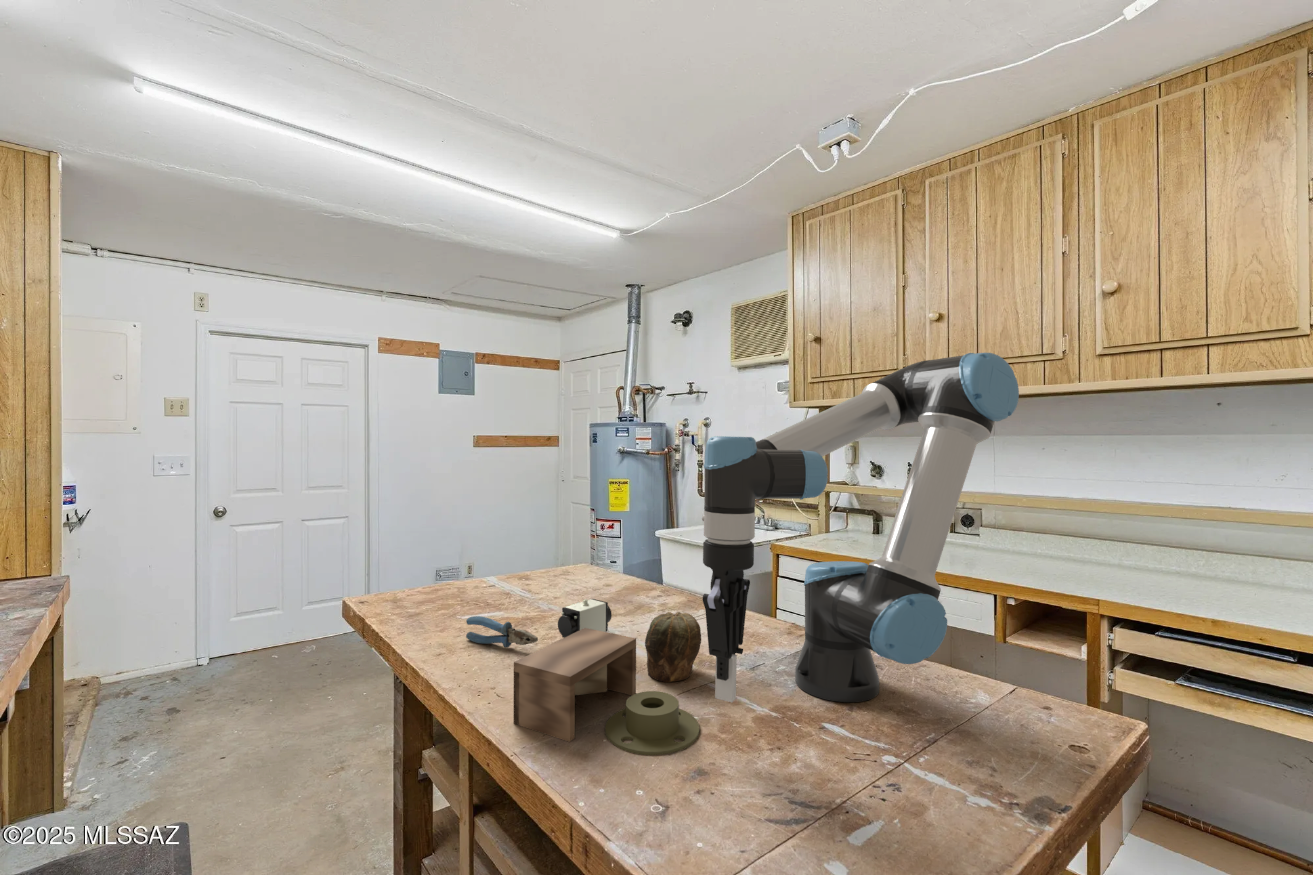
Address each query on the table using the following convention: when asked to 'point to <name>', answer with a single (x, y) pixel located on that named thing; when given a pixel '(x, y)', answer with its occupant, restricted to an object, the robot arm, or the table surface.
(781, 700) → the table surface
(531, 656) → the shelf
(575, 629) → the pneumatic valve
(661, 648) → the green ball cactus
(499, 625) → the pliers
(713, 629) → the robot arm
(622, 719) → the flange
